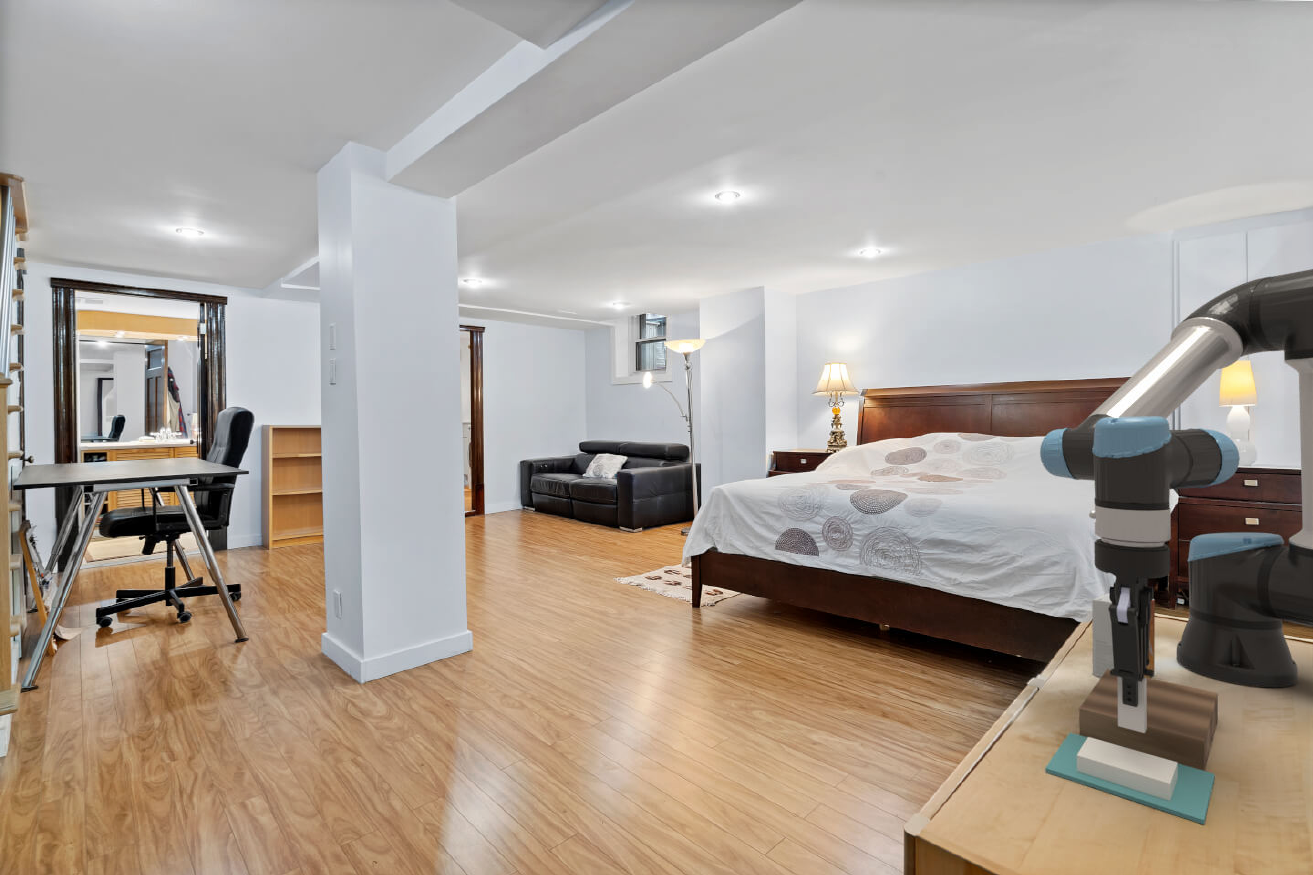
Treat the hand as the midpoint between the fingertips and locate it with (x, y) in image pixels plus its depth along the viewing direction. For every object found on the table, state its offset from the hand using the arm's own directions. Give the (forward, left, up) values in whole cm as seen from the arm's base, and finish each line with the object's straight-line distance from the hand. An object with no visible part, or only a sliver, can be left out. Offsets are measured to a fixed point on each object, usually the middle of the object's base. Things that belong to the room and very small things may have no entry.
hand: (1132, 727), depth 79 cm
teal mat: (+2, +2, -5) cm, 6 cm away
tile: (+3, +2, -3) cm, 5 cm away
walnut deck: (-10, -8, -5) cm, 14 cm away
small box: (-21, -25, -5) cm, 33 cm away
